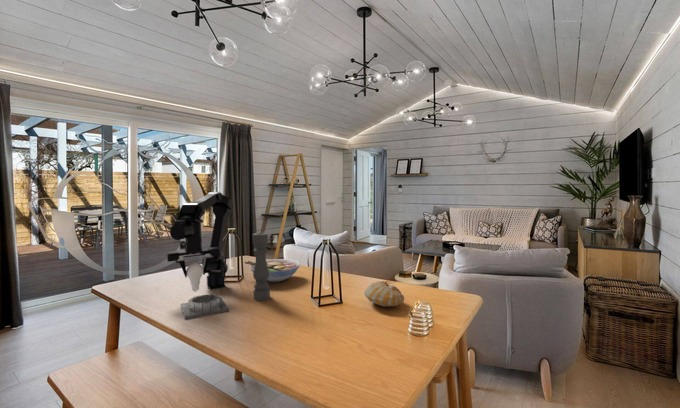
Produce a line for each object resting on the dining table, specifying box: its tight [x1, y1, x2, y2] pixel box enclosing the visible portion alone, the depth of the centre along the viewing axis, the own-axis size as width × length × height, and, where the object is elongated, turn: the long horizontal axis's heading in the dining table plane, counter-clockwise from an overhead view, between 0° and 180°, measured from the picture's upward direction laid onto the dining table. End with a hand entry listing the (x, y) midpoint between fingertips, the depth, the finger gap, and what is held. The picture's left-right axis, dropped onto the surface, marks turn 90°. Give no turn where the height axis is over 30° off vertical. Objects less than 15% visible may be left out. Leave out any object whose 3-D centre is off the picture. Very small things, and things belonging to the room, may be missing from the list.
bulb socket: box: [180, 294, 230, 320], centre depth 122 cm, size 14×14×4 cm
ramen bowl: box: [243, 258, 301, 283], centre depth 157 cm, size 25×23×8 cm
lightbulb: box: [186, 262, 203, 293], centre depth 132 cm, size 6×6×11 cm
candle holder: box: [252, 232, 271, 302], centre depth 132 cm, size 6×6×25 cm
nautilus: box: [363, 279, 405, 308], centre depth 126 cm, size 8×22×15 cm
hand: (195, 276), depth 132 cm, fingers closed on lightbulb, 6 cm apart
